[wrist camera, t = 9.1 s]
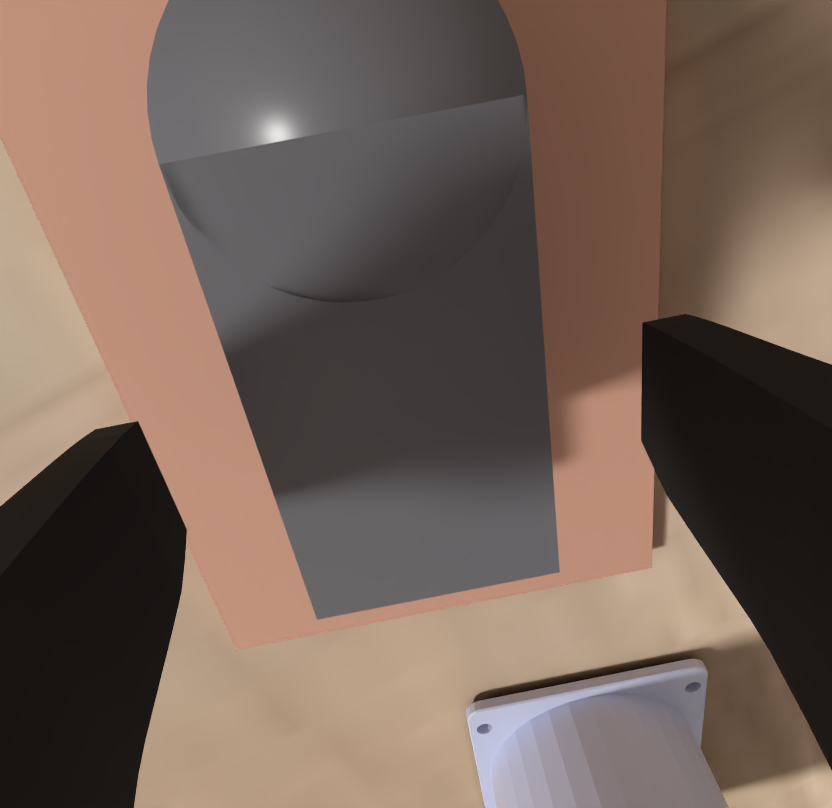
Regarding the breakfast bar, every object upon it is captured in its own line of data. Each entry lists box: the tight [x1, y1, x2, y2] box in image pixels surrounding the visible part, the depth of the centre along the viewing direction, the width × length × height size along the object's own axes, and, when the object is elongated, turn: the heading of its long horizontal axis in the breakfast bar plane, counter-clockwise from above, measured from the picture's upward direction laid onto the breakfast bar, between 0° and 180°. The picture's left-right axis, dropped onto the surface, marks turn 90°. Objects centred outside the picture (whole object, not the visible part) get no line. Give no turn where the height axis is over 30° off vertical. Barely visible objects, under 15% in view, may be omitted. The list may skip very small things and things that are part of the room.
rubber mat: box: [0, 0, 667, 650], centre depth 15 cm, size 20×12×1 cm, turn 9°
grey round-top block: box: [147, 0, 560, 620], centre depth 12 cm, size 12×4×5 cm, turn 9°
